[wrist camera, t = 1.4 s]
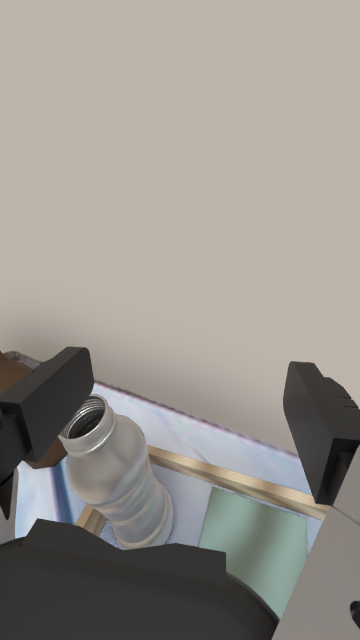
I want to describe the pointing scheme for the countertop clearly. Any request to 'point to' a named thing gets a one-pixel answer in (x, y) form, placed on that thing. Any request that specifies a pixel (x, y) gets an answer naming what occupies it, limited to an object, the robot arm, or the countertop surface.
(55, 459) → the beer bottle
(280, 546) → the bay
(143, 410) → the countertop surface
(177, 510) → the countertop surface
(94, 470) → the plastic bottle
